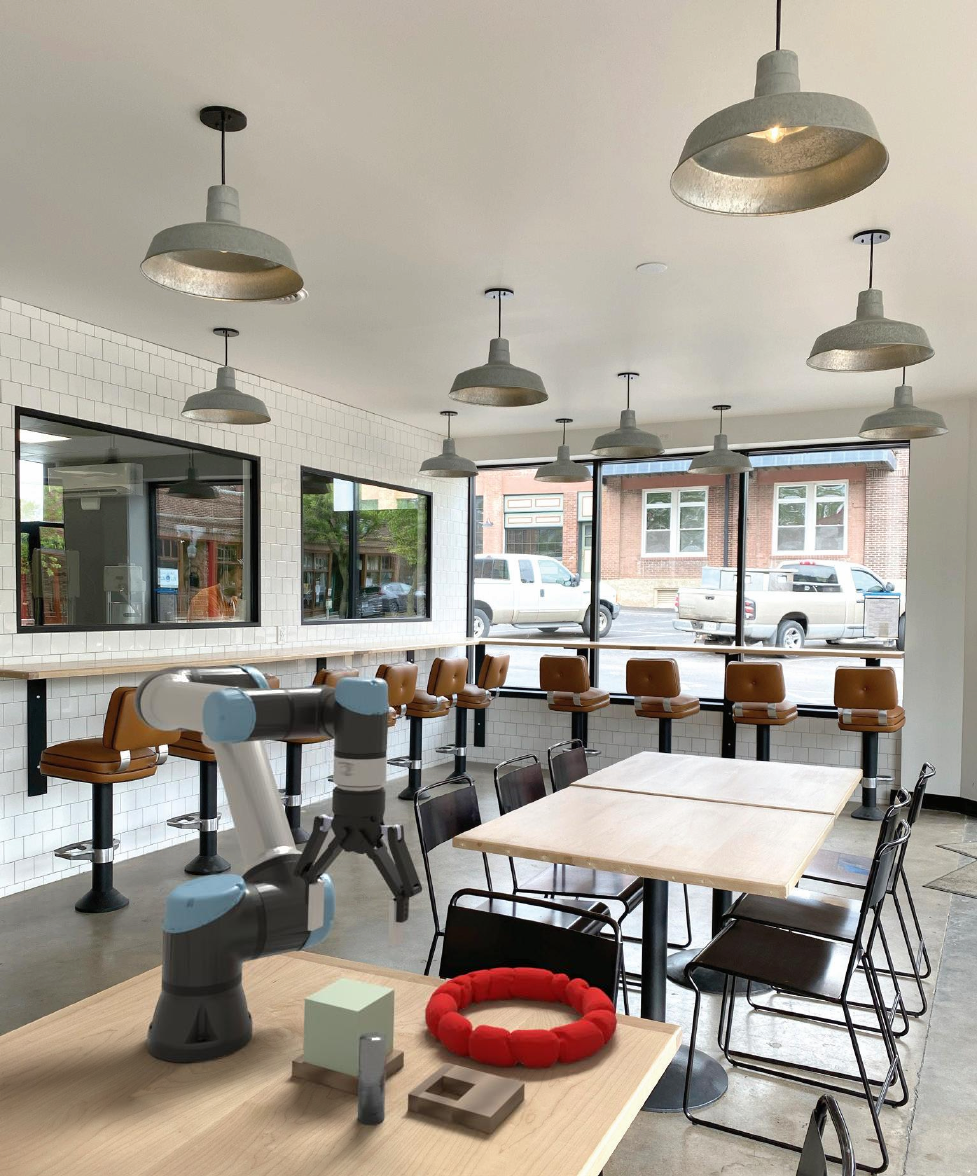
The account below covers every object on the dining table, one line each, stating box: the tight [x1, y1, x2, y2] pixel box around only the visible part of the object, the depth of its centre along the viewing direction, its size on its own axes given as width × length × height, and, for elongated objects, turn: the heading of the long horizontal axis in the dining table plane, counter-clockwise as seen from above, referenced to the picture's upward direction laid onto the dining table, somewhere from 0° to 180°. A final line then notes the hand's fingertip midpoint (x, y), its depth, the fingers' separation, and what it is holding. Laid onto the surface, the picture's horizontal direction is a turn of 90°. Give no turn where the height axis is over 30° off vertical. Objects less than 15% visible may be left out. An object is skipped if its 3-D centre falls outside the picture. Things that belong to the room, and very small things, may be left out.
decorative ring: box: [424, 967, 618, 1069], centre depth 146 cm, size 7×30×30 cm
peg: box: [357, 1032, 386, 1126], centre depth 118 cm, size 3×3×10 cm
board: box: [291, 1048, 405, 1096], centre depth 130 cm, size 12×10×7 cm
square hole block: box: [407, 1062, 526, 1134], centre depth 122 cm, size 12×10×2 cm
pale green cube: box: [302, 977, 395, 1077], centre depth 131 cm, size 9×9×9 cm
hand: (354, 936), depth 131 cm, fingers open, 13 cm apart
